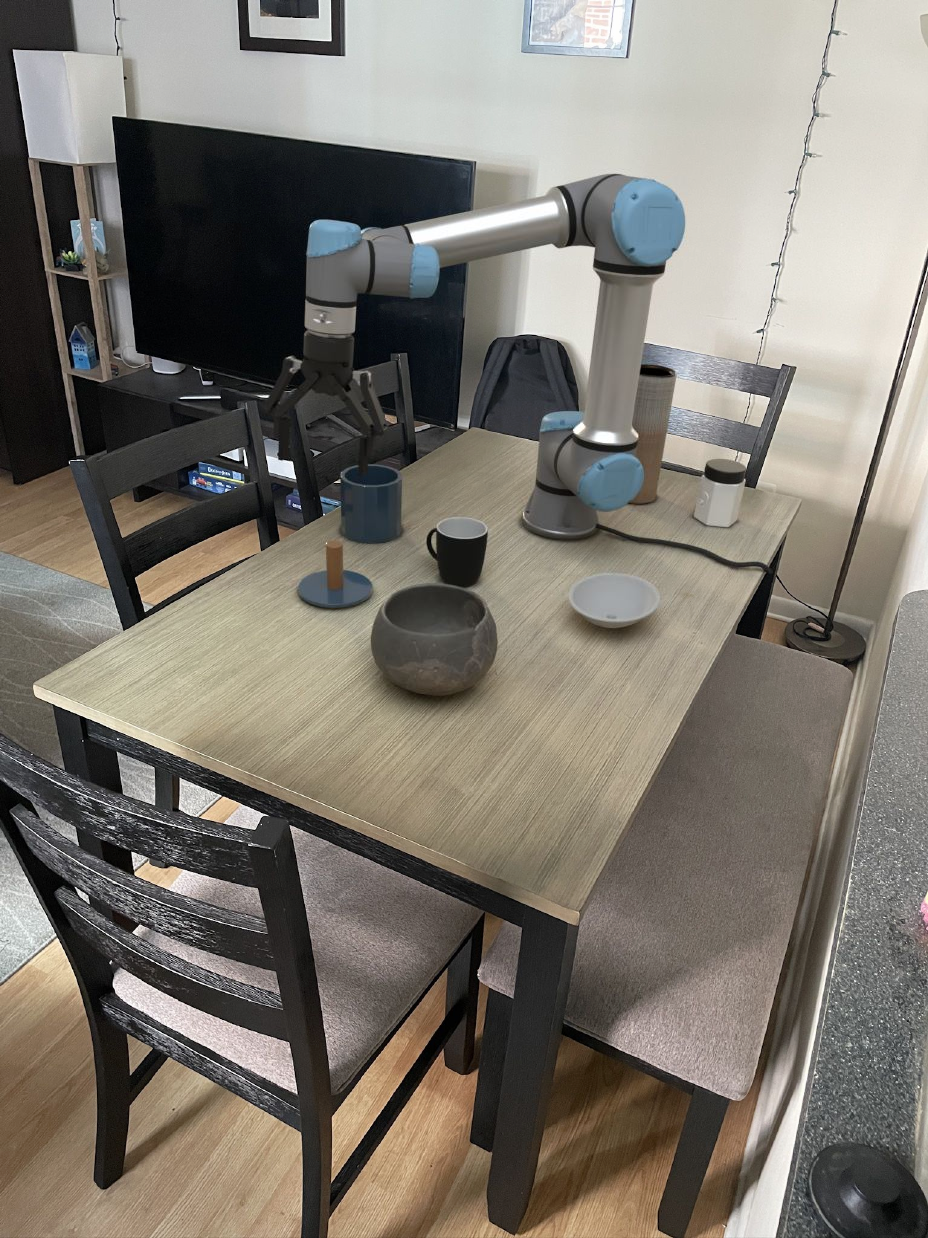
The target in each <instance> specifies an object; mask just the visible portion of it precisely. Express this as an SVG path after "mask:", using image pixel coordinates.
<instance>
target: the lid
mask: <svg viewBox="0 0 928 1238" xmlns="http://www.w3.org/2000/svg"><path fill="white" fill-rule="evenodd" d="M325 563H326V564H325V567H326V569H324V570H320V571H316V572H313V573H309V574H308V575H306V576H304V577H303V578H302V579H301V580H300V581H299V582H298V584H297V593H298V596H299V597H300V599H302V600H303V601H305V602H306V603H309V604H311V605H313V606H316V607H322V608H330V609H331V608H335V609H336V608H338V609H339V608H346V607H351V606H355V605H358V604H361V603H363V602H364V601H366V600H368V598H370V596H371V595H372V593H373V583H372V582H371V580H370V579H369V578H368V577H367V576H365V575H364V574H363V573H359V572H356V571H352V570H348V569H344V544H343V542H342V541H340V540H328V541H326V543H325Z"/></svg>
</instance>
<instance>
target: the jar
mask: <svg viewBox="0 0 928 1238" xmlns="http://www.w3.org/2000/svg"><path fill="white" fill-rule="evenodd" d="M703 471H704V472H703V474H702V475H701V478H700V483H699V488H698V493H697V498H696V503H695V508H694V513H693V517H694V518H695V519H696V520H698V521H700V522H701V523H702V524H704V525H705V526H710V527H719V528H720V527H722V528H730V527H731V526H732V525H733V524H735V523H736V522H737V521H738V516H739V512H740V508H741V505H742V499H743V495H744V491H745V485H746V482H747V481H746V478H745V477H746V473H747V467H746V465H744V464H743V463H741V462H739V461H736V460H733V459H729V458H728V459H726V458H713V459H710V460H707V461H706V463H705V466H704V470H703Z"/></svg>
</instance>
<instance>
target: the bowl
mask: <svg viewBox="0 0 928 1238" xmlns="http://www.w3.org/2000/svg"><path fill="white" fill-rule="evenodd" d="M374 618H375V619H374V620H373V624H372V627H371V632H370V649H371V654H372V658H373V660H374V663H375V664H376V666H377V668H378V669H379V671H380V672H381V674H382V675H384V677H386V678H387V680H389V681H390V682H391V683H393V684H394V685H396V686H397V687H400V688H402V689H404V690H407V691H410V692H413V693H416V694H421V695H427V696H449V695H454V694H457V693H460V692H462V691H465V690H467V689H469V688H471V687H473V686H475V685H476V684H477V683H479V682H480V681H481V680H482V679H483V678H484V677H485V676H486V675H487V674H488V672H489V671H490V669H491V668H492V666H493V664H494V662H495V659H496V656H497V652H498V646H499V645H498V644H499V641H498V633H497V625H496V621H495V619H494V616H493V615H492V613H491V611H490V609H489V606H488V604H487V602H486V600H485V599H484V598H483V597H481V596H480V595H479V594H478V593H476V592H475V591H472V590H470V589H467V588H466V587H459V586H454V585H449V584H446V583H440V582H438V583H437V582H435V583H434V582H426V583H419V584H414V585H410V586H409V585H408V586H406V587H403V588H401V589H398V590H397V591H395V592H393V593H392V594H390V595H389V596H388V597H387V598H386V599H385V600H384V601H383V603H382V604H381V605H380V607H379V609H378V611H377V613H376V616H375V617H374Z"/></svg>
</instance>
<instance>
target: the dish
mask: <svg viewBox="0 0 928 1238" xmlns="http://www.w3.org/2000/svg"><path fill="white" fill-rule="evenodd" d="M567 595H568V596H567V599H568V602H569V605H570V607H571V608H572V609H573V610H574V611H576V612H577V613H578V614H579V615H580V616H581V617H582V618H584V620H586V621H588V622H589V623H591V624H592V625H596V626H598V627H601V628H606V629H607V628H608V629H620V628H625V627H629V626H632V625H634V624H637V623H638V622H640V621H642V620H644V619H645V618H647V617H649V616H651V615H652V614H653V613H655V612H656V611H657V610H658V608H659V606H660V604H661V594H660V591H659V589H658V588H657V587H656V586H654V584H652V583H651V582H650V581H648V580H646V579H644V578H641V577H639V576H635V575H632V574H629V573H628V574H627V573H621V572H620V573H619V572H605V573H604V572H603V573H597V574H592V575H588V576H586V577H583V578H581V579H580V580H578V581H577V582H575V583H574V584H573V585H572V586H571V587H570V589H569V591H568V594H567Z"/></svg>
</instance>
